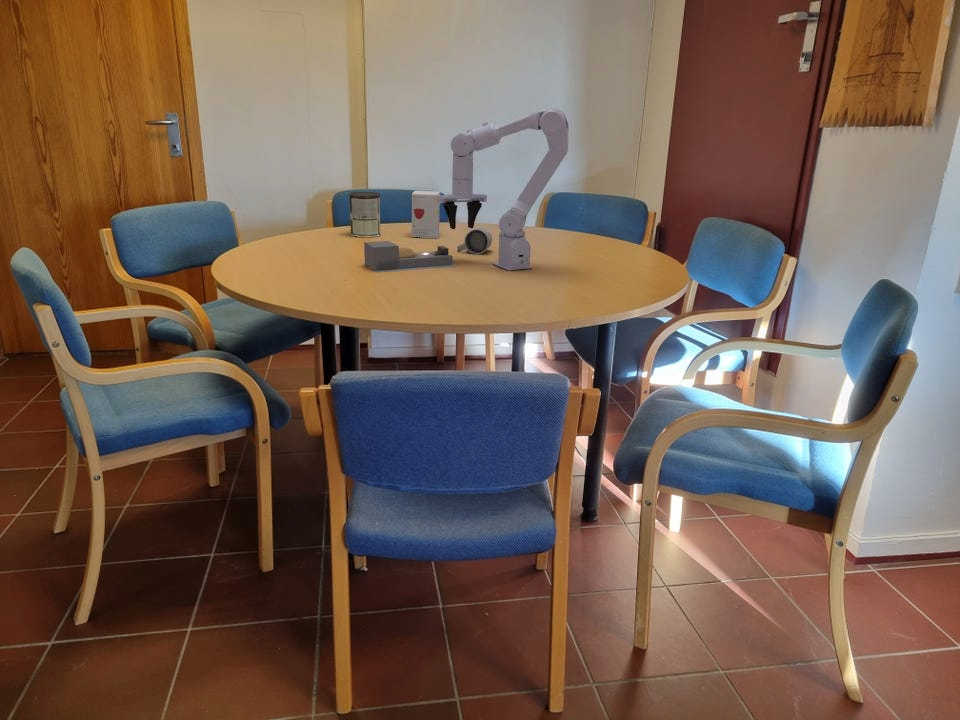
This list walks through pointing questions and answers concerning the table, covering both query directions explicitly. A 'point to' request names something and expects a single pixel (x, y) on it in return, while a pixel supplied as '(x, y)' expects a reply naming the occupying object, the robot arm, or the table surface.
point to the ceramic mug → (476, 241)
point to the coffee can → (365, 214)
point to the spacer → (405, 253)
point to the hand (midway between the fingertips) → (461, 228)
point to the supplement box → (425, 214)
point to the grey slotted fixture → (387, 259)
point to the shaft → (439, 252)
